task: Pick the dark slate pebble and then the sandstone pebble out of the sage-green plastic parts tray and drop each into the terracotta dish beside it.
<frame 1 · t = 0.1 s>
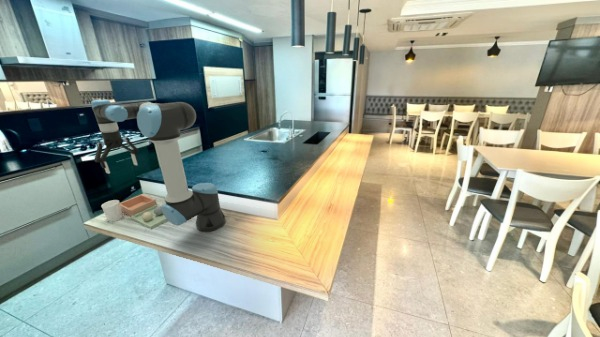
hand: (122, 168, 127), 28 cm above the counter, fingers open, 13 cm apart
terracotta dish: (139, 209, 140), on the counter
slate pebble: (159, 214, 133), resting on parts tray
parts tray: (154, 217, 131), on the counter
sand pebble: (148, 220, 128), resting on parts tray
white cup: (116, 219, 131), on the counter
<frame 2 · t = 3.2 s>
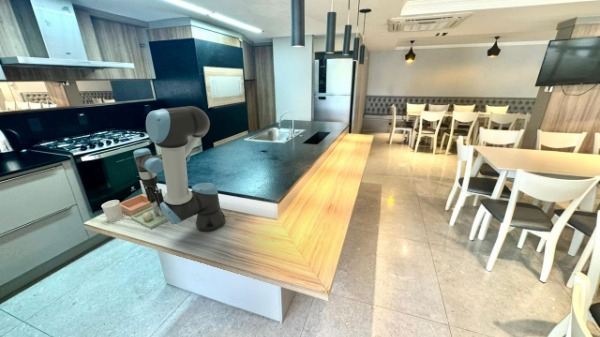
hand: (159, 213, 133), 1 cm above the counter, fingers closed on slate pebble, 5 cm apart
slate pebble: (159, 214, 133), resting on parts tray, touching gripper
everything else where it was.
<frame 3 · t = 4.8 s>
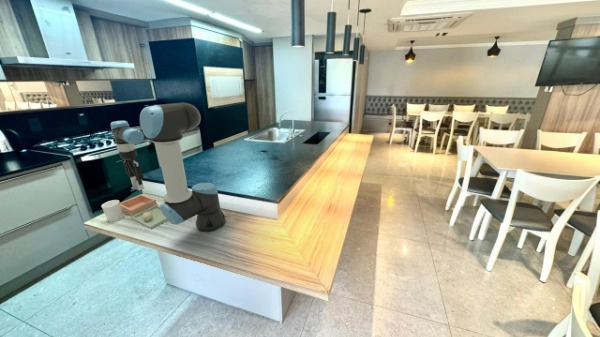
hand: (138, 188, 133), 15 cm above the counter, fingers closed on slate pebble, 5 cm apart
slate pebble: (139, 189, 133), point 14 cm above the counter, touching gripper
everything else where it was.
when the fingers open (6 cm above the counter, at t = 6.8 s): slate pebble moves 4 cm and tips over, resting on terracotta dish.
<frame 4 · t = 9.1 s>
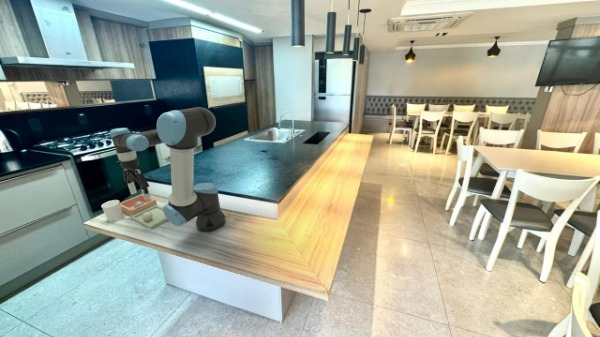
hand: (140, 196, 124), 15 cm above the counter, fingers open, 13 cm apart
slate pebble: (136, 202, 139), point 5 cm above the counter, tilted 126°, touching terracotta dish
everything else where it was.
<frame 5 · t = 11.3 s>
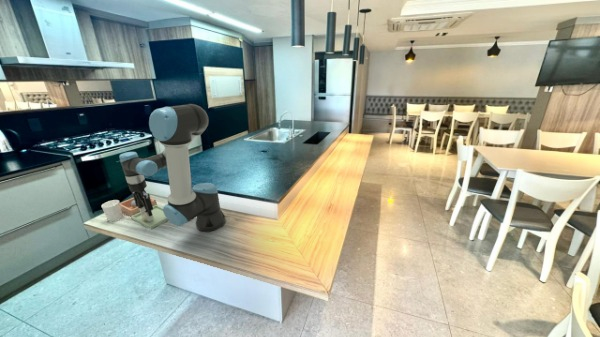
hand: (148, 219, 128), 1 cm above the counter, fingers closed on sand pebble, 5 cm apart
slate pebble: (135, 205, 141), point 1 cm above the counter, tilted 37°, touching terracotta dish
sand pebble: (148, 220, 128), resting on parts tray, touching gripper
everything else where it was.
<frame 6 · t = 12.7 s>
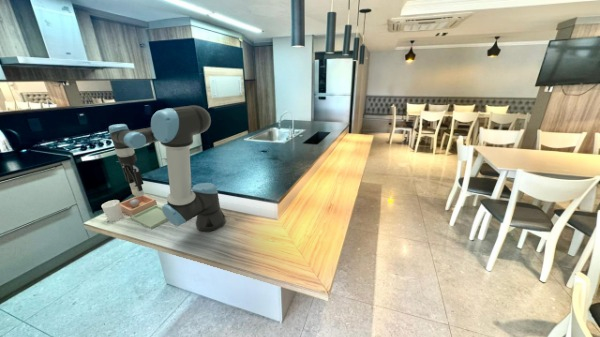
hand: (138, 194, 127), 15 cm above the counter, fingers closed on sand pebble, 5 cm apart
slate pebble: (135, 206, 142), point 1 cm above the counter, touching terracotta dish
sand pebble: (138, 195, 127), point 14 cm above the counter, touching gripper
everything else where it was.
when the fingers open (9 cm above the counter, at t = 14.1 s): sand pebble drops 7 cm, resting on terracotta dish.
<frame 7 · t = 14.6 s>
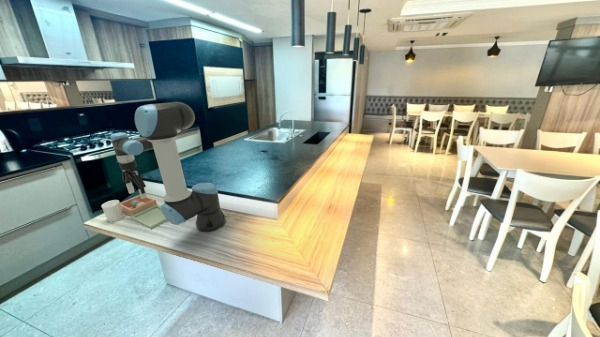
hand: (137, 195, 134), 11 cm above the counter, fingers open, 12 cm apart
slate pebble: (135, 206, 142), point 1 cm above the counter, tilted 30°, touching terracotta dish
sand pebble: (142, 209, 138), point 1 cm above the counter, tilted 7°, touching terracotta dish
everything else where it was.
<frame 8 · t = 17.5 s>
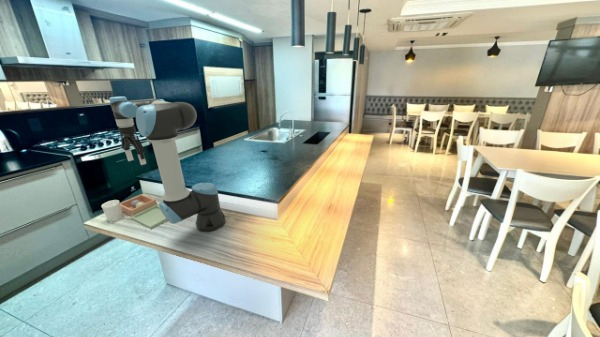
hand: (137, 162, 134), 29 cm above the counter, fingers open, 13 cm apart
slate pebble: (135, 205, 141), point 1 cm above the counter, tilted 46°, touching terracotta dish
sand pebble: (142, 209, 138), point 1 cm above the counter, tilted 21°, touching terracotta dish
everything else where it was.
at the end: slate pebble inside the target area on the terracotta dish (3.7 cm from its centre), point 1.4 cm above the terracotta dish's base; sand pebble inside the target area on the terracotta dish (4.1 cm from its centre), point 0.8 cm above the terracotta dish's base; the gripper is holding nothing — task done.
